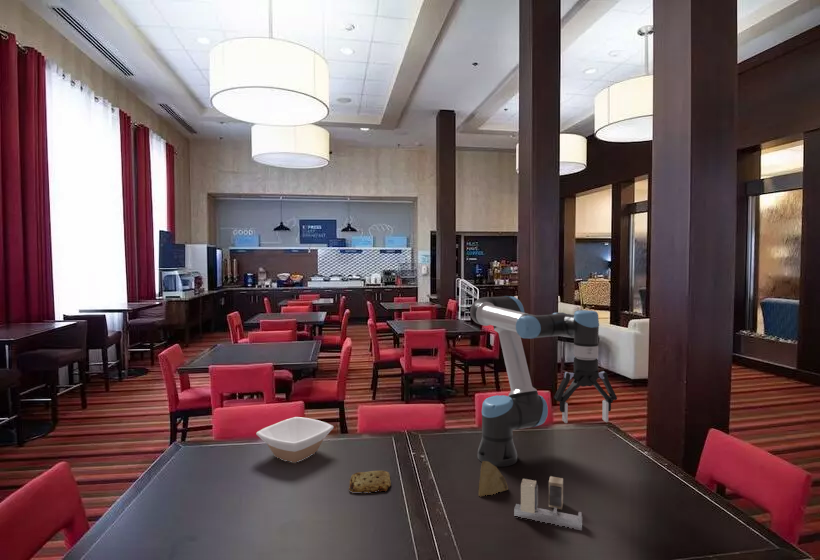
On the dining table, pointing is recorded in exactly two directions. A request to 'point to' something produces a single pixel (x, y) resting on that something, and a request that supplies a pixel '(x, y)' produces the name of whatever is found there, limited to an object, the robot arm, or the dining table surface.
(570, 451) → the dining table surface
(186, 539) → the dining table surface
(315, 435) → the bowl
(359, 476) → the pastry
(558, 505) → the block
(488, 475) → the rock
